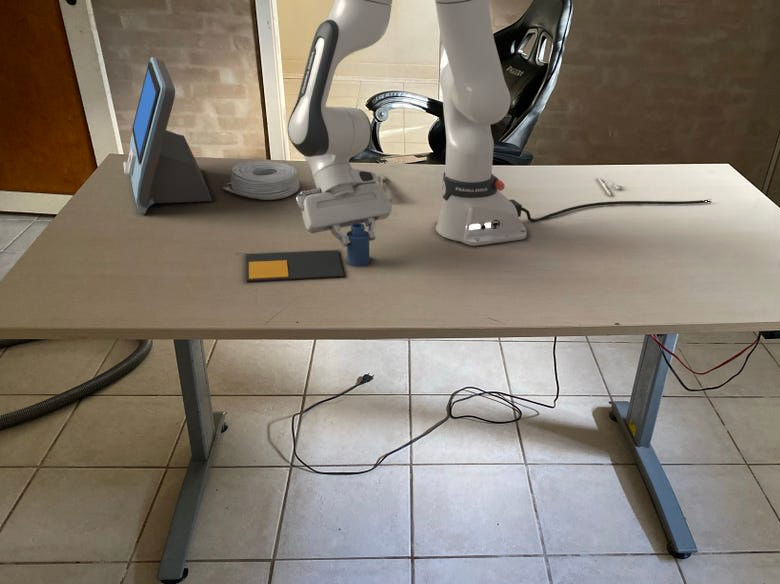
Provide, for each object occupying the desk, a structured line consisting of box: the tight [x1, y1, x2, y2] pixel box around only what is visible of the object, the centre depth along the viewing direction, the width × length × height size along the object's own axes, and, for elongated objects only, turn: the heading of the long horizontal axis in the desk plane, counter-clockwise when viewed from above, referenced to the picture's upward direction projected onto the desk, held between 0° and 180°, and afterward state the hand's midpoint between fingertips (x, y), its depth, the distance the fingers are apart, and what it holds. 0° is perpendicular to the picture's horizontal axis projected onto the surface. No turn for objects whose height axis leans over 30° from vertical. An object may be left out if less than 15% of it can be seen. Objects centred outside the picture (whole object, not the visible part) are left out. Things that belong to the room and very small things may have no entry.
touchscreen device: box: [122, 56, 213, 215], centre depth 186 cm, size 35×20×30 cm, turn 23°
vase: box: [346, 223, 370, 267], centre depth 161 cm, size 5×5×8 cm
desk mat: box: [246, 249, 345, 283], centre depth 160 cm, size 20×13×1 cm, turn 104°
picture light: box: [598, 178, 621, 196], centre depth 215 cm, size 14×4×2 cm, turn 5°
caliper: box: [379, 173, 387, 193], centre depth 201 cm, size 20×1×6 cm, turn 7°
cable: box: [222, 161, 300, 201], centre depth 195 cm, size 18×18×6 cm
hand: (359, 242), depth 161 cm, fingers closed on vase, 5 cm apart
